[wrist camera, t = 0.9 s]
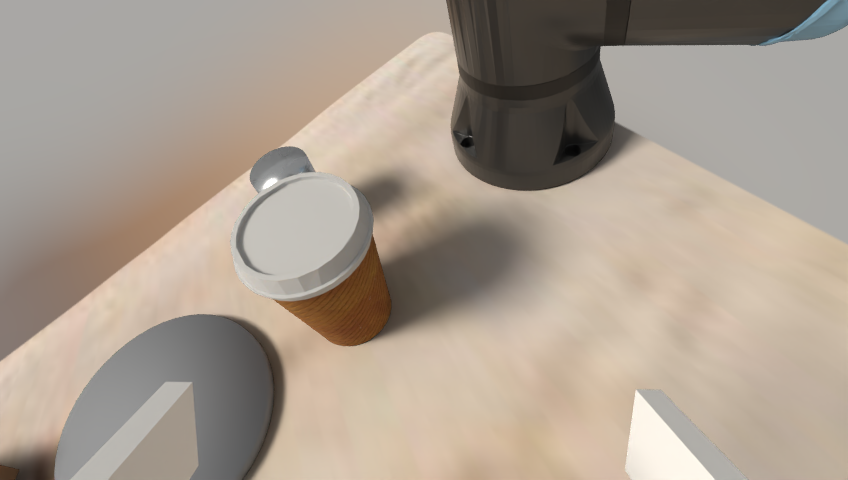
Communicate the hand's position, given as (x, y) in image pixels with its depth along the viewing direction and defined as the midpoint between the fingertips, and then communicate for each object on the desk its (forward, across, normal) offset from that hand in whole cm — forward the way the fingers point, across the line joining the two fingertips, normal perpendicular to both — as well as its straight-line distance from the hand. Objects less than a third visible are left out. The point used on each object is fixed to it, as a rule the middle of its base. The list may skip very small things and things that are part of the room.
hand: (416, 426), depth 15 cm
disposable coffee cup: (+26, -4, -6) cm, 27 cm away
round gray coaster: (+22, -18, -14) cm, 32 cm away
